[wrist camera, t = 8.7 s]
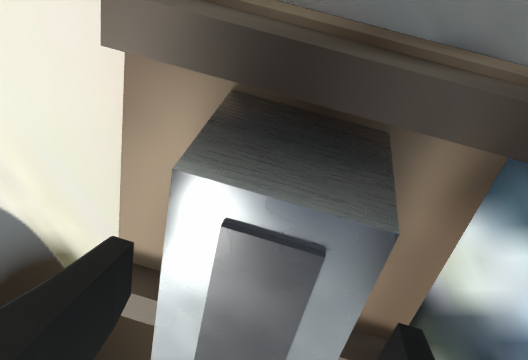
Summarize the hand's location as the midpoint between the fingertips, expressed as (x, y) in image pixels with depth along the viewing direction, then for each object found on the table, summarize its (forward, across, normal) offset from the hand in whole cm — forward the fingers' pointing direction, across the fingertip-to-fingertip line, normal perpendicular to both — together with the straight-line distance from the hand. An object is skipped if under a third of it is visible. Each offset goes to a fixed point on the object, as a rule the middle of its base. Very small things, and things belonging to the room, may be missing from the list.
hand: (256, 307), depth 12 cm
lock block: (+5, 0, 0) cm, 5 cm away
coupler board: (+6, 0, 0) cm, 6 cm away
